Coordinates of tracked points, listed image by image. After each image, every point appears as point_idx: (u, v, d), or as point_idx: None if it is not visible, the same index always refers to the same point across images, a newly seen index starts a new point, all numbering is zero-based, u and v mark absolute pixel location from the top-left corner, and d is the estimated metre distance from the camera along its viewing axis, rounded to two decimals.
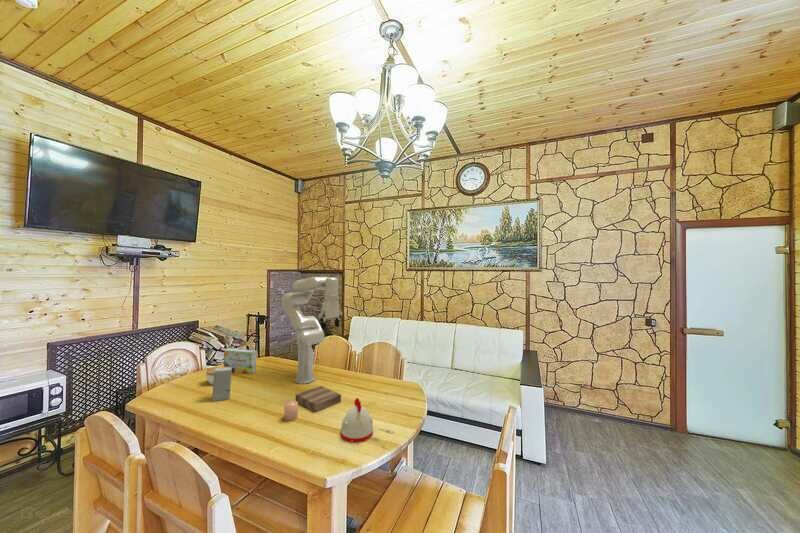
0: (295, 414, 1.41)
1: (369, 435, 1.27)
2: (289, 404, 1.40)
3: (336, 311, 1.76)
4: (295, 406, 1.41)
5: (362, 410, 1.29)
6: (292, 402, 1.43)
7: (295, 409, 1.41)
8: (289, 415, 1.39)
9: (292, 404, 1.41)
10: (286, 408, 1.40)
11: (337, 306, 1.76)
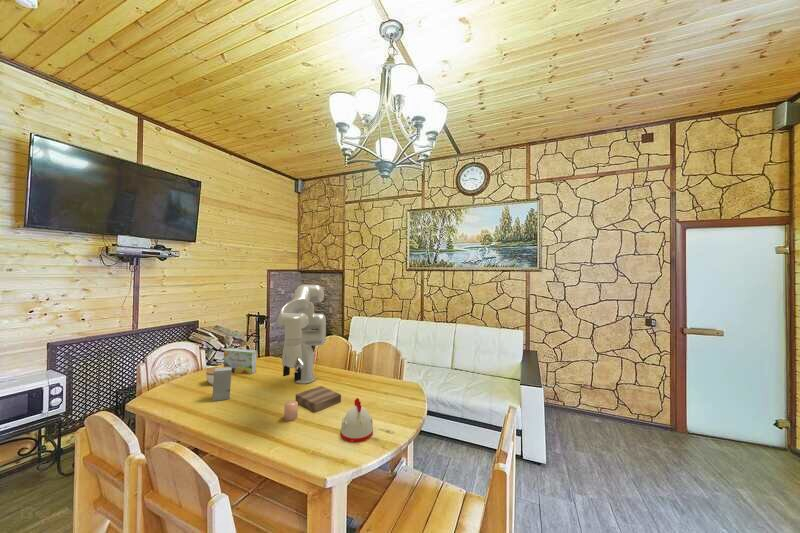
0: (295, 414, 1.41)
1: (369, 435, 1.27)
2: (289, 404, 1.40)
3: None
4: (295, 406, 1.41)
5: (362, 410, 1.29)
6: (292, 402, 1.43)
7: (295, 409, 1.41)
8: (289, 415, 1.39)
9: (292, 404, 1.41)
10: (286, 408, 1.39)
11: None
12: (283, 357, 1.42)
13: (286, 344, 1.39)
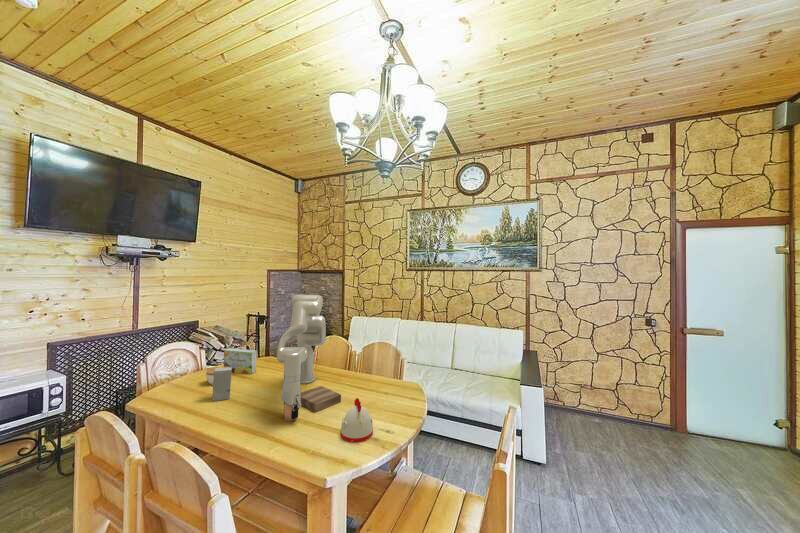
0: None
1: (369, 435, 1.27)
2: None
3: None
4: None
5: (362, 410, 1.29)
6: None
7: None
8: (289, 415, 1.39)
9: None
10: (286, 408, 1.39)
11: None
12: (282, 393, 1.42)
13: (285, 381, 1.39)
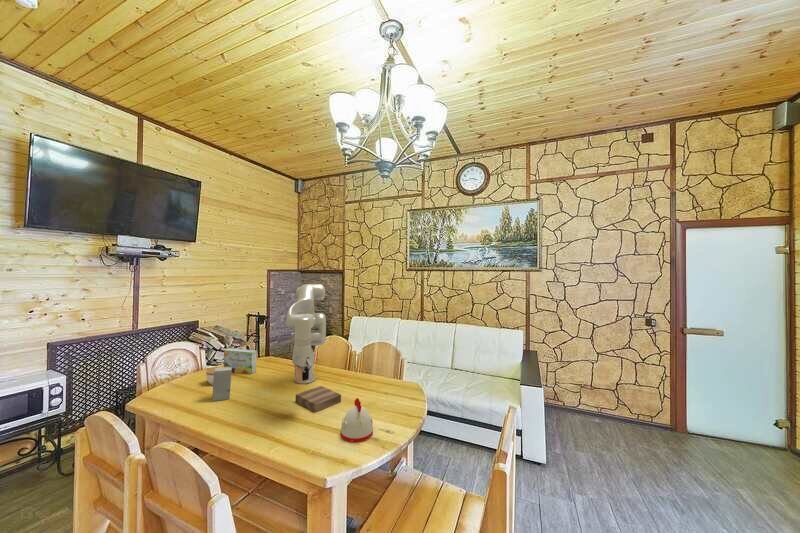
0: None
1: (369, 435, 1.27)
2: (299, 367, 1.47)
3: None
4: (305, 368, 1.47)
5: (362, 410, 1.29)
6: None
7: None
8: (300, 377, 1.46)
9: None
10: (297, 369, 1.46)
11: None
12: (293, 356, 1.49)
13: (296, 344, 1.45)
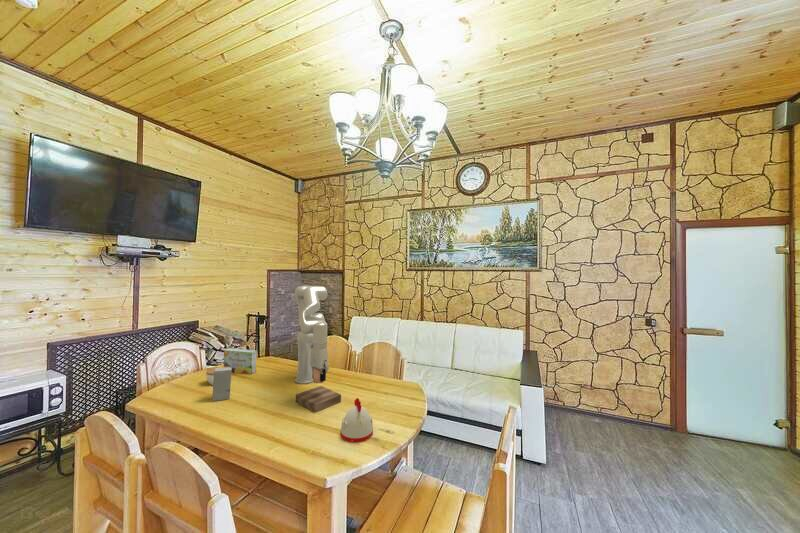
0: None
1: (369, 435, 1.27)
2: (317, 369, 1.58)
3: None
4: None
5: (362, 410, 1.29)
6: None
7: None
8: (318, 378, 1.57)
9: None
10: (315, 371, 1.57)
11: None
12: (311, 359, 1.60)
13: (314, 348, 1.57)
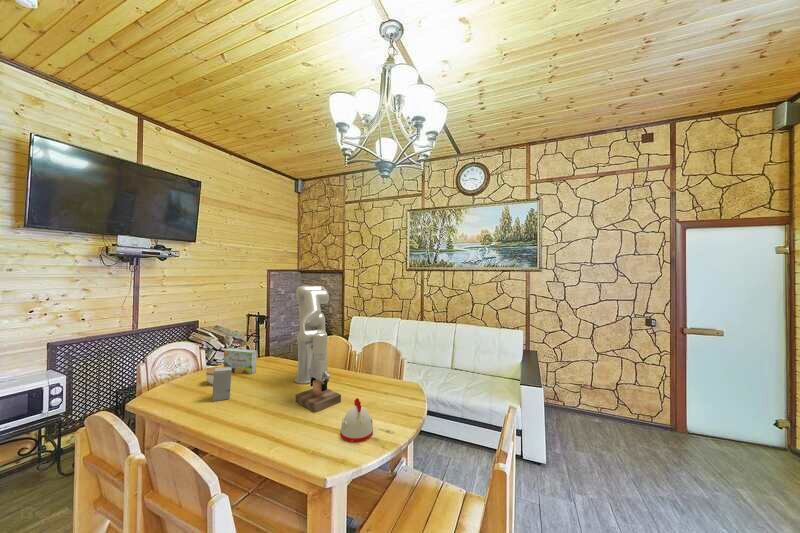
0: None
1: (369, 435, 1.27)
2: (317, 382, 1.59)
3: None
4: None
5: (362, 410, 1.29)
6: (319, 380, 1.61)
7: None
8: (317, 391, 1.57)
9: (320, 381, 1.59)
10: (314, 385, 1.58)
11: None
12: (311, 370, 1.60)
13: (314, 358, 1.57)
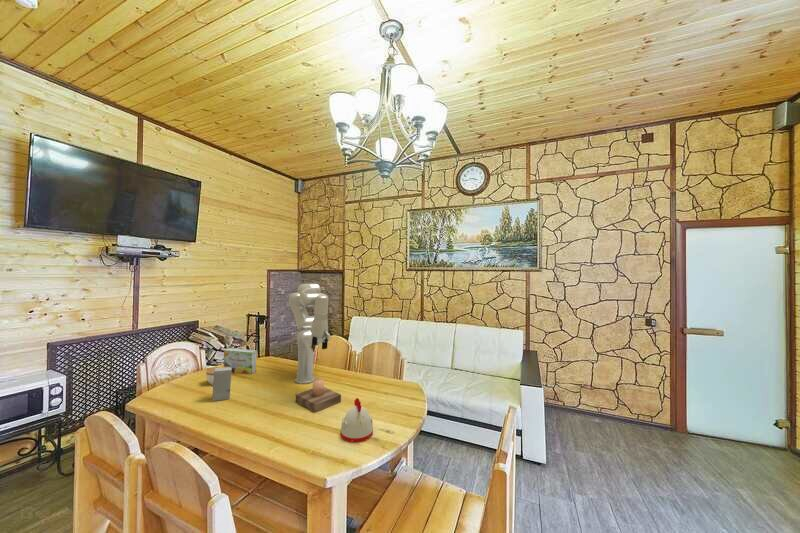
0: (322, 390, 1.59)
1: (369, 435, 1.27)
2: (316, 382, 1.59)
3: None
4: (322, 383, 1.59)
5: (362, 410, 1.29)
6: (319, 380, 1.61)
7: (322, 386, 1.59)
8: (317, 391, 1.57)
9: (319, 381, 1.59)
10: (314, 384, 1.58)
11: None
12: (312, 329, 1.70)
13: (315, 319, 1.67)
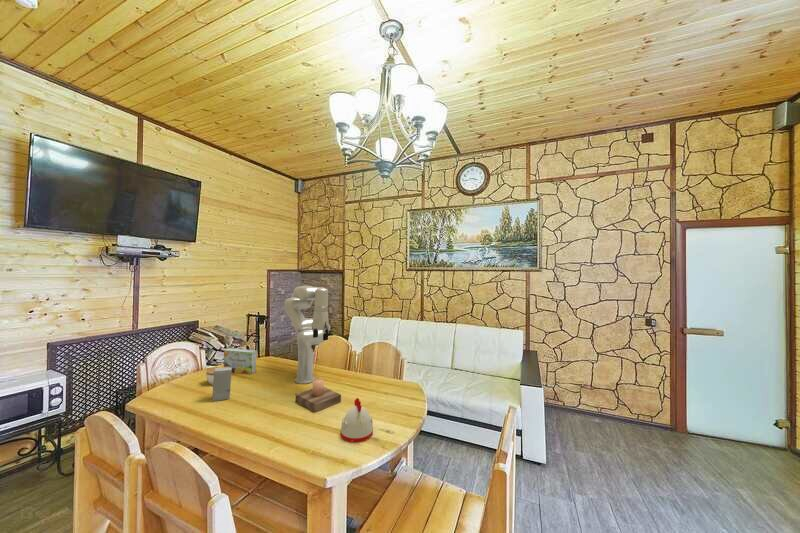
0: (322, 390, 1.59)
1: (369, 435, 1.27)
2: (316, 382, 1.59)
3: None
4: (322, 383, 1.59)
5: (362, 410, 1.29)
6: (319, 380, 1.61)
7: (322, 385, 1.59)
8: (317, 391, 1.57)
9: (319, 381, 1.59)
10: (314, 384, 1.58)
11: None
12: (313, 322, 1.75)
13: (316, 311, 1.72)
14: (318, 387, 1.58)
